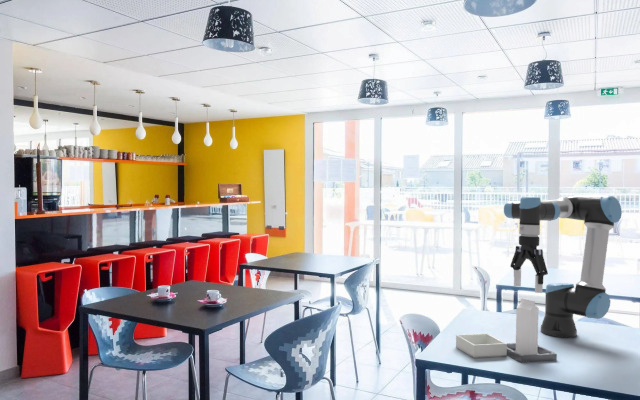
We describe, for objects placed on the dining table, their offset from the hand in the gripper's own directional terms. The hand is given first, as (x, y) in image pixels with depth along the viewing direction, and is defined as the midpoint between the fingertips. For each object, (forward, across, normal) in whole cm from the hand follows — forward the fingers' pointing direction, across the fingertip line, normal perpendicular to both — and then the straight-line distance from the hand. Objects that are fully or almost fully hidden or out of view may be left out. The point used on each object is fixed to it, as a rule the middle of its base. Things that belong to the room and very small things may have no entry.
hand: (527, 289), depth 200 cm
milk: (+26, 0, 0) cm, 26 cm away
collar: (+26, 0, 0) cm, 26 cm away
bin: (+26, -7, -16) cm, 31 cm away
